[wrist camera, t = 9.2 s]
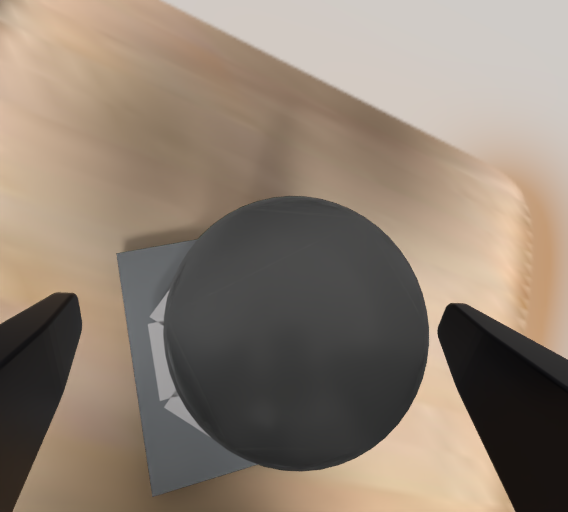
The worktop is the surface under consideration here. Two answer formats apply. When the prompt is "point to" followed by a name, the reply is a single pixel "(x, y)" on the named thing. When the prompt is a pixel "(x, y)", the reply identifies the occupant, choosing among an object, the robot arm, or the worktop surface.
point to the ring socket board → (164, 377)
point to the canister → (296, 333)
